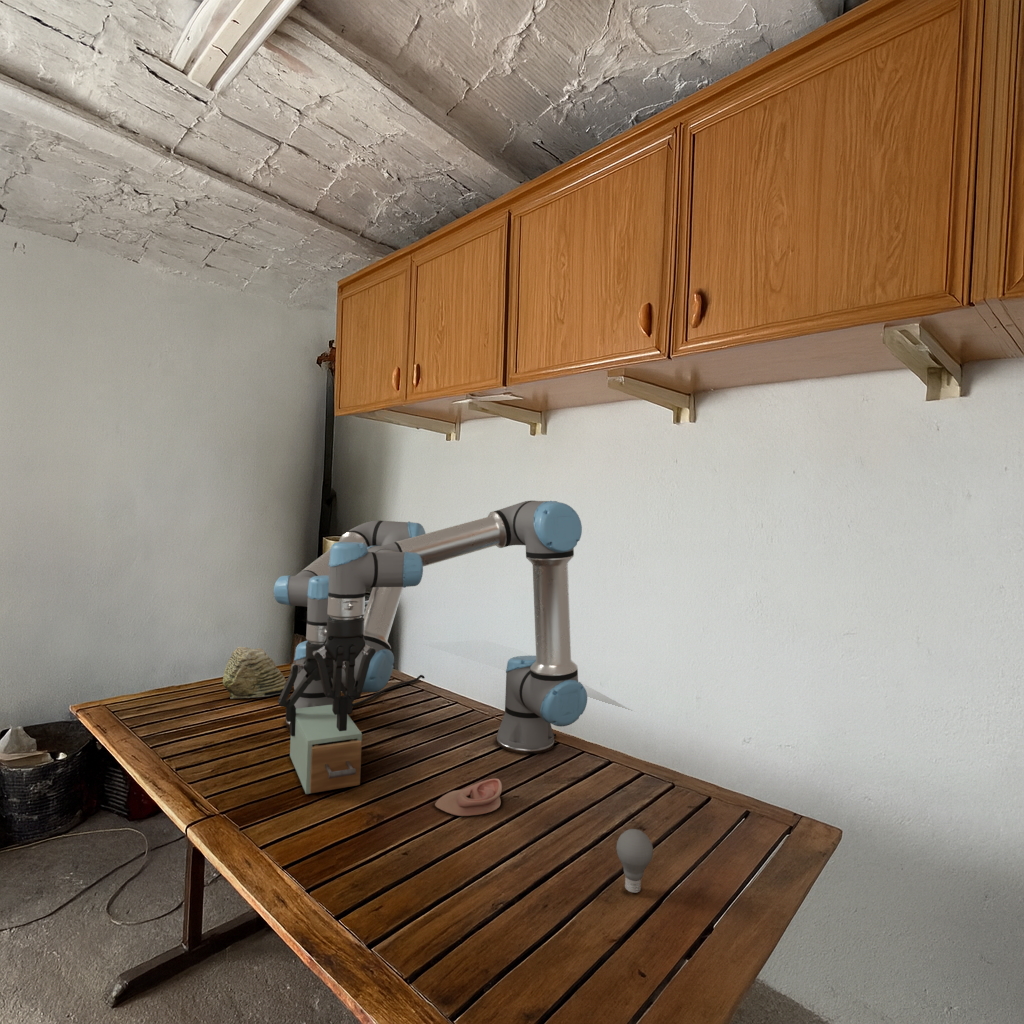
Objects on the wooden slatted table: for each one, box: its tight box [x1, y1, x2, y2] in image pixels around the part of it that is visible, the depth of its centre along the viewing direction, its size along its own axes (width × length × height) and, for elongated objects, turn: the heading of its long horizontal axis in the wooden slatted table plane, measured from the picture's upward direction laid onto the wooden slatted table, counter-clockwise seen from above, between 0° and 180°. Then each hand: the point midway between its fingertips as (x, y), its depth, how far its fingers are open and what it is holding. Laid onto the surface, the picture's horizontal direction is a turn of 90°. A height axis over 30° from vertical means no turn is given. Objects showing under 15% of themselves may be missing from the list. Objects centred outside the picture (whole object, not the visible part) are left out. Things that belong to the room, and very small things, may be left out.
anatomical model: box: [434, 778, 503, 817], centre depth 133 cm, size 13×4×12 cm
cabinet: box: [289, 705, 363, 795], centre depth 147 cm, size 22×12×12 cm, turn 28°
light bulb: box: [615, 828, 654, 894], centre depth 106 cm, size 6×6×10 cm
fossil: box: [222, 646, 287, 699], centre depth 198 cm, size 9×18×15 cm, turn 132°
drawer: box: [310, 739, 363, 794], centre depth 142 cm, size 26×10×10 cm, turn 28°
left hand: (319, 730), depth 152 cm, fingers closed on cabinet, 12 cm apart
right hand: (341, 728), depth 132 cm, fingers closed
